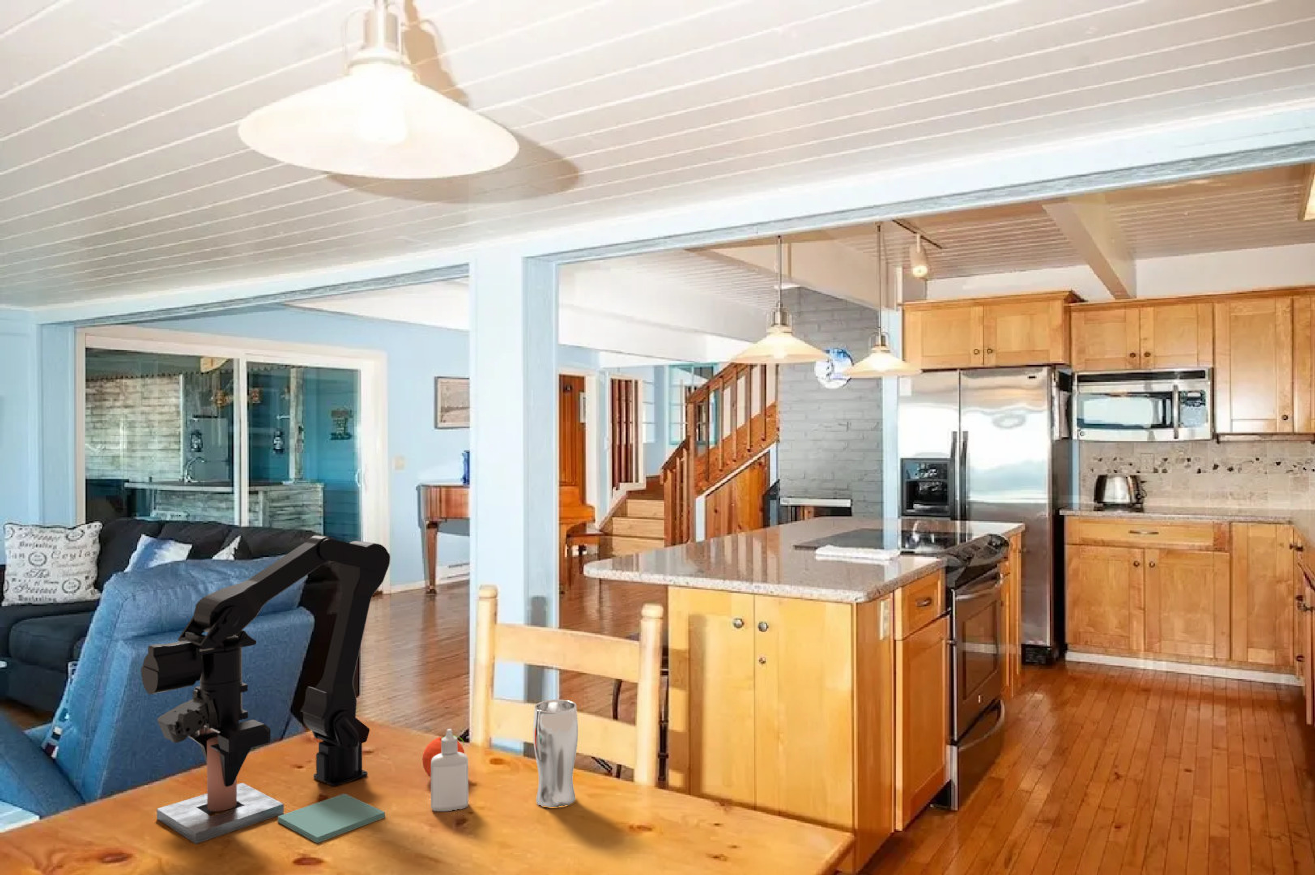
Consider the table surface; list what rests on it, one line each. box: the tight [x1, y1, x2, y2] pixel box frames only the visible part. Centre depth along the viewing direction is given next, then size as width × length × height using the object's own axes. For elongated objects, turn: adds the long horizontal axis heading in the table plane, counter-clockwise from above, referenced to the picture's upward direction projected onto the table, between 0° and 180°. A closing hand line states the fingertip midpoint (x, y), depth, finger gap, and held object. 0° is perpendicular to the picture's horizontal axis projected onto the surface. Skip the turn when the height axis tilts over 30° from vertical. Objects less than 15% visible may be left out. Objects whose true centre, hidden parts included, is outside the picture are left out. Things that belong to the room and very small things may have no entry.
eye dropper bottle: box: [430, 728, 469, 812], centre depth 141 cm, size 4×6×12 cm
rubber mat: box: [277, 793, 386, 844], centre depth 137 cm, size 11×11×1 cm
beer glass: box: [532, 699, 579, 807], centre depth 143 cm, size 7×7×15 cm
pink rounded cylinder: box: [206, 736, 238, 812], centre depth 138 cm, size 4×4×10 cm
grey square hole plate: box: [156, 782, 285, 845], centre depth 138 cm, size 13×13×2 cm
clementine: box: [422, 735, 466, 778], centre depth 153 cm, size 8×7×7 cm
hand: (222, 782), depth 138 cm, fingers closed on pink rounded cylinder, 4 cm apart
